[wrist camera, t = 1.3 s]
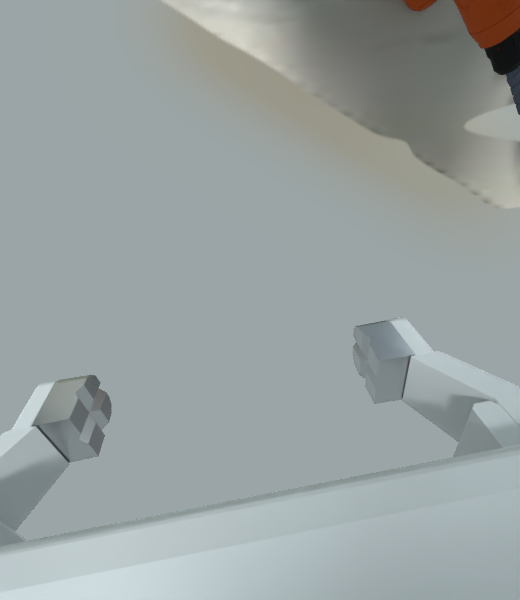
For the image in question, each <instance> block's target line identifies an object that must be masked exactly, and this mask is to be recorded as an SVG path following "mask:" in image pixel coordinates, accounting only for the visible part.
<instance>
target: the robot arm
mask: <svg viewBox="0 0 520 600" xmlns="http://www.w3.org/2000/svg"><path fill="white" fill-rule="evenodd" d="M354 338H355V340H356V341H357V342H356V344H355V345H354V346H353V357H354V363H355V365H356V368H357V371H358V373H359V375H360V376H362V377H363V378H365V379H366V386H365V387H366V388H367V391H368V392H369V394H370V396H371V398H372V400H373V402H374V404H376V403H383V402H389V401H395V400H401V399H402V401H403V402H405V403H406V404H407V405H409V406H410V407H411V408H413V409H414V410H416V411H417V412H418V413H420V414H421V415H422V416H424V417H425V418H426V419H428V420H429V421H431V422H432V423H433V424H435V425H436V426H438V427H439V428H440V429H441V430H443V431H444V432H446V433H447V434H448V435H450V436H451V437H452V438H454V439H455V440H456V441H458V442H459V443H458V446H457V448H456V451H455V453H454V456H453V457H452V458H447V459H442V460H437V461H432V462H427V463H422V464H417V465H412V466H407V467H401V468H397V469H391V470H386V471H382V472H376V473H371V474H366V475H361V476H355V477H350V478H345V479H340V480H335V481H330V482H325V483H319V484H315V485H310V486H304V487H299V488H294V489H289V490H284V491H279V492H273V493H269V494H263V495H259V496H253V497H248V498H243V499H238V500H233V501H227V502H222V503H218V504H212V505H207V506H202V507H197V508H192V509H188V510H182V511H177V512H172V513H167V514H161V515H156V516H151V517H146V518H141V519H136V520H131V521H126V522H121V523H115V524H110V525H105V526H100V527H96V528H90V529H85V530H80V531H75V532H69V533H64V534H60V535H54V536H50V537H44V538H39V539H34V540H29V541H27V540H26V539H25V538H24V537H22V536H21V535H19V534H18V533H16V532H15V531H16V530H17V529H18V527H19V526H20V525H21V524H22V522H23V521H24V520H25V519H26V518H27V516H28V515H29V514H30V513H31V511H32V510H33V509H34V508H35V506H36V505H37V504H38V502H39V501H40V500H41V499H42V498H43V496H44V495H45V494H46V493H47V491H48V490H49V489H50V488H51V486H52V485H53V484H54V483H55V482H56V480H57V479H58V478H59V477H60V475H61V474H62V473H63V472H64V470H65V469H66V468H67V467H68V465H69V463H70V462H74V461H79V460H83V459H88V458H93V457H97V456H99V453H100V449H101V446H102V443H103V440H104V437H105V435H104V433H103V431H102V429H103V428H104V427H105V426H106V425H107V424H108V423H109V420H110V417H111V401H110V398H109V396H108V394H107V393H106V392H105V391H103V390H101V389H99V385H100V382H99V380H98V379H97V377H96V376H95V375H87V376H81V377H74V378H68V379H62V380H58V381H52V382H45V383H42V384H40V385H39V386H37V388H36V390H35V391H34V393H33V395H32V396H31V398H30V400H29V401H28V403H27V405H26V406H25V408H24V410H23V411H22V413H21V415H20V416H19V418H18V420H17V421H16V423H15V425H14V426H13V429H12V430H11V431H7V432H5V433H3V434H2V435H1V436H0V600H520V387H518V386H516V385H514V384H512V383H510V382H507V381H505V380H503V379H501V378H498V377H496V376H494V375H491V374H489V373H487V372H485V371H483V370H480V369H478V368H476V367H474V366H471V365H469V364H467V363H465V362H462V361H460V360H458V359H456V358H453V357H451V356H449V355H447V354H445V353H442V352H440V351H436V352H434V351H433V350H432V349H431V348H430V346H429V345H428V344H427V343H426V342H425V341H424V339H423V338H422V337H421V336H420V335H419V333H418V332H417V331H416V330H415V329H414V328H413V326H412V325H411V324H410V323H409V322H408V321H407V320H406V318H404V317H400V318H395V319H390V320H387V321H381V322H376V323H370V324H366V325H360V326H356V327H355V329H354Z"/></svg>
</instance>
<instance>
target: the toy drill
mask: <svg viewBox="0 0 520 600" xmlns="http://www.w3.org/2000/svg"><path fill="white" fill-rule="evenodd" d="M404 1H405V2H406V4H407V5H408V7H410V8H411V9H412V10H415V11H422V10H424V9H426V8H428V7H429V6H431V5H432V4H433V3H434V2H436V1H437V0H404ZM454 1H455V3H456V5H457V7H458V9H459V11H460V13H461V15H462V18H463V20H464V22H465V24H466V27H467V29H468V31H469V34H470V35H471V36H472V37H473V38H474V39H475V41H476V42H477V43H478V44H479V46H480V48H484V49H485V51H486V54H487V57H488V58H489V59H490V60H491V63H492V66H493V70H494V71H495V72H497V73H498V74H500V75H504V74H506V76H507V82H508V84H509V86H510V87H511V92H512V95H514V97H513V99H514V102H515V104H516V108H517V111H518V114H519V115H520V67H519V66H520V0H454Z"/></svg>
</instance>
